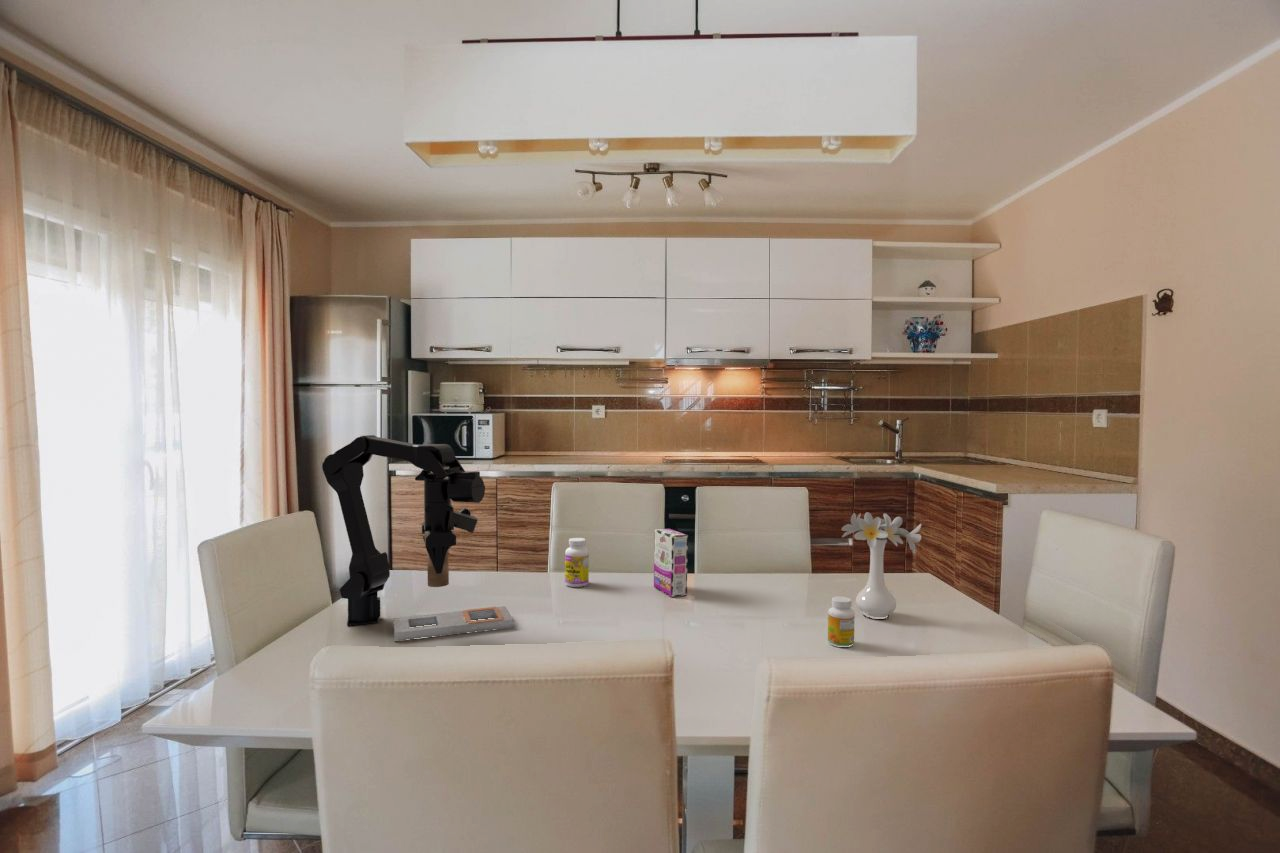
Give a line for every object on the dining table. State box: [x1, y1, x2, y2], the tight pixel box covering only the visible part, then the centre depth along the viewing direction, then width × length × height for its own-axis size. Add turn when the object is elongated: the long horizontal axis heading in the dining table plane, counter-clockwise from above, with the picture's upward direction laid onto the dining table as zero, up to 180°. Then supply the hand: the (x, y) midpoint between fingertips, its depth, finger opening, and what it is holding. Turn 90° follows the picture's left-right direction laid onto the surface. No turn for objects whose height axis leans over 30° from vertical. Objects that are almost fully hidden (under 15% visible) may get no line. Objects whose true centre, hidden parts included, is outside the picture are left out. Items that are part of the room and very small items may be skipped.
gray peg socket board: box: [393, 605, 514, 642], centre depth 146 cm, size 25×10×2 cm, turn 112°
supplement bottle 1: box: [564, 537, 590, 588], centre depth 181 cm, size 7×7×13 cm
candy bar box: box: [653, 528, 689, 598], centre depth 176 cm, size 11×5×16 cm, turn 25°
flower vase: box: [841, 511, 923, 617], centre depth 157 cm, size 13×18×25 cm
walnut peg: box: [426, 548, 450, 588], centre depth 144 cm, size 4×4×9 cm
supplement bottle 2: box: [827, 596, 855, 646], centre depth 138 cm, size 5×5×10 cm
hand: (438, 570), depth 144 cm, fingers closed on walnut peg, 4 cm apart
